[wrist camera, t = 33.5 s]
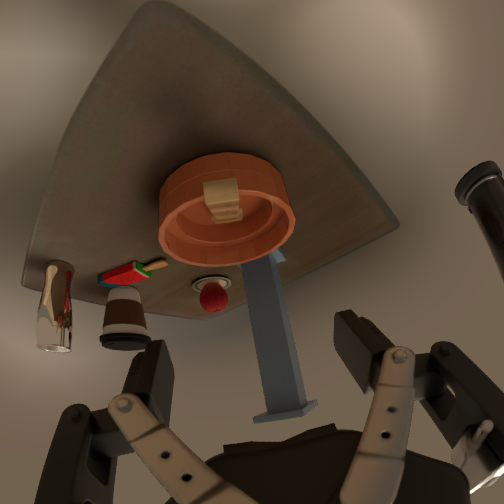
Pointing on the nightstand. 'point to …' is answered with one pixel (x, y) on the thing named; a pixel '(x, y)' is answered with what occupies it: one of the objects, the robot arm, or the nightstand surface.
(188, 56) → the nightstand surface
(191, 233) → the bowl
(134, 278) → the popsicle
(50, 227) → the nightstand surface
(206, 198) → the stick
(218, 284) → the apple
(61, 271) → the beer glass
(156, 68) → the nightstand surface
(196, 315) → the nightstand surface
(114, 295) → the coffee cup
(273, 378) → the stand
